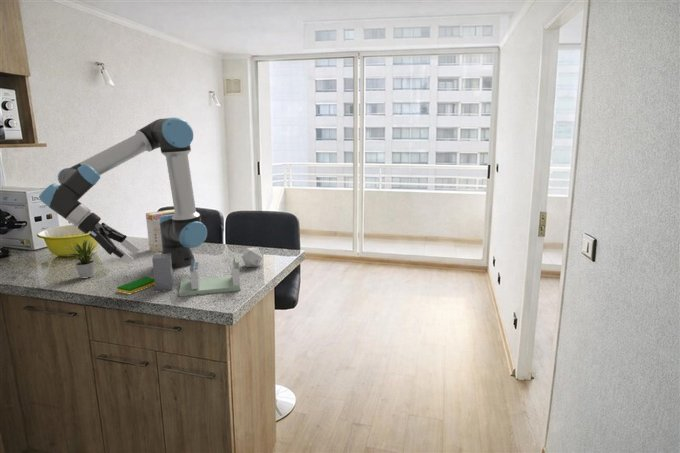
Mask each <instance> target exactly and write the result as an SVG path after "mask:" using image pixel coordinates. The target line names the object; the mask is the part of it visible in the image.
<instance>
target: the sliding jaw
mask: <svg viewBox="0 0 680 453" xmlns="http://www.w3.org/2000/svg"><path fill="white" fill-rule="evenodd" d="M189 273H190V275H189V276H190V280H191V288H192V290H193V289H199V282H200V279H201V278H200V277H201V276H200V263H199V261H196V259H195V258H194V259H192V260H191V265H189Z"/></svg>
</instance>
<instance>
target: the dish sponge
mask: <svg viewBox="0 0 680 453" xmlns="http://www.w3.org/2000/svg"><path fill="white" fill-rule="evenodd" d="M152 285H154V286H155V282H154V277H149V276H145V277H141V278H139V279H135V280H133V281H131V282H128V283H124V284H122V285H119V286H117V287H116V291H121V292H126V293H133V292H135V291H138V290H141V289H144V288H146V287H149V286H151V287H153V286H152ZM149 288H150V287H149ZM146 289H147V288H146ZM144 290H145V289H144ZM141 291H142V290H141Z"/></svg>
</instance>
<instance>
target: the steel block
mask: <svg viewBox="0 0 680 453" xmlns="http://www.w3.org/2000/svg"><path fill="white" fill-rule="evenodd" d="M151 260H152V262H151V263H152V268H153V269H152V270H153V271H152V272H153V278H154V282H155V285H154V289H155V290H154V291H155V292H156V291H159V292H164V291H163V290H169V291H173V289H174V286H175V284H174V283H175V282H174V275H173V274H174V273H173V268H172V261H171V253H168V254H161V253H158V254H157V253H156V254H153V256H152V258H151Z"/></svg>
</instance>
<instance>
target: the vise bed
mask: <svg viewBox="0 0 680 453" xmlns="http://www.w3.org/2000/svg"><path fill="white" fill-rule="evenodd" d="M233 257H234V258H233V259H231V260H230V264H231V265H230V267H231V275H227V276H219V277H207V278H200V282H199V289H193V290H192V288H191V279H185V280H181V281H180V286H179V291H178V297H187V296H186V295H189V296H197V295H196V294H199V295H205V294H206V295H207V294H208V293H209V294H216V293H218V294H219V293H226V292H237V291H241V283H240V282H241V280H240V279H241V278H240V265H239V263H240V262H239V258H238V253H233Z"/></svg>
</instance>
